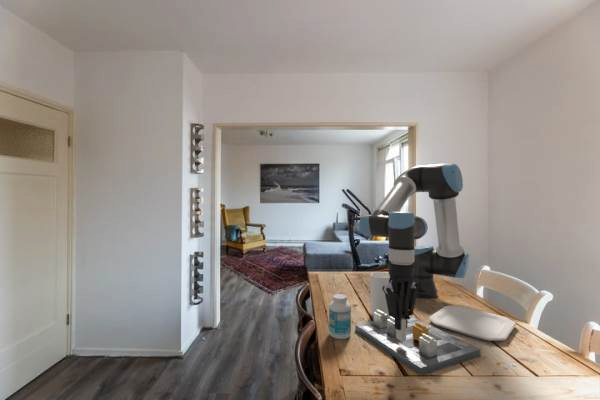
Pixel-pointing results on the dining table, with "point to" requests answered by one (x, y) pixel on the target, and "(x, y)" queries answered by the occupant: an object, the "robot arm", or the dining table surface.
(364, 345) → the dining table surface
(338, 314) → the pill bottle
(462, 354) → the panel
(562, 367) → the dining table surface
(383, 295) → the cup
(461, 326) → the plate
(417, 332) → the block
